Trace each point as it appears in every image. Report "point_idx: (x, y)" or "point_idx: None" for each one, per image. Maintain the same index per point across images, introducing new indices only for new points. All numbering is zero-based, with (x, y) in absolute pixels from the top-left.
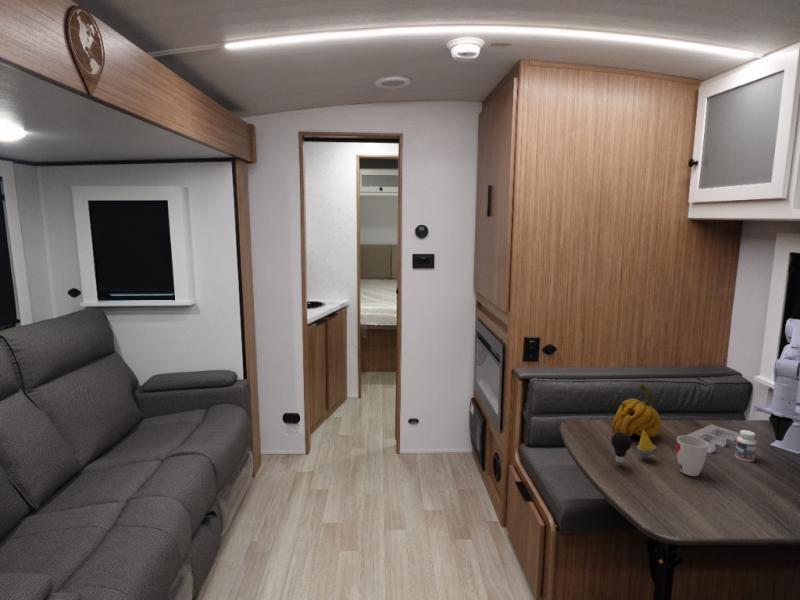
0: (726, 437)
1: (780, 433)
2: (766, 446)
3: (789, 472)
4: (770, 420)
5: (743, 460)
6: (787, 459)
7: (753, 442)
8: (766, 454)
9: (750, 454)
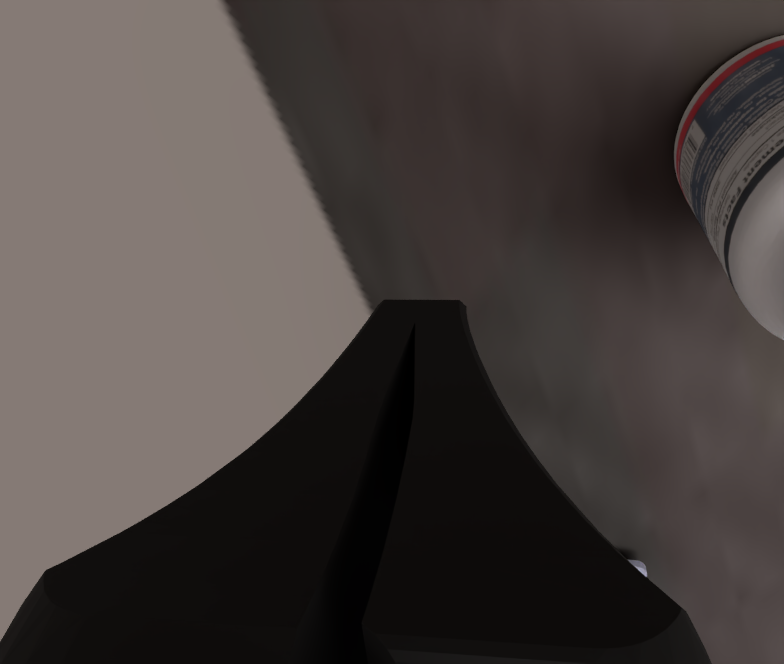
0: None
1: (358, 378)
2: (666, 537)
3: (339, 178)
4: (630, 590)
5: (773, 41)
6: None
7: (775, 213)
8: (621, 399)
9: (733, 108)
